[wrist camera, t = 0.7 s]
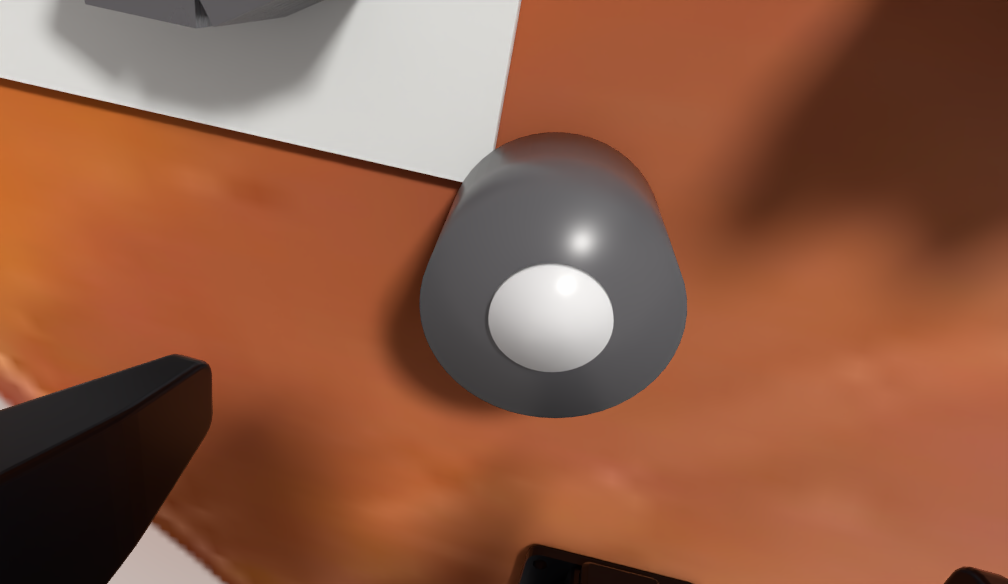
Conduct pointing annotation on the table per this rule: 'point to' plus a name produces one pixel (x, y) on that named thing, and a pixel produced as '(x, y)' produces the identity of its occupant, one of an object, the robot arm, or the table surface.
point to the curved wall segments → (206, 10)
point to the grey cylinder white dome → (554, 280)
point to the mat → (291, 72)
